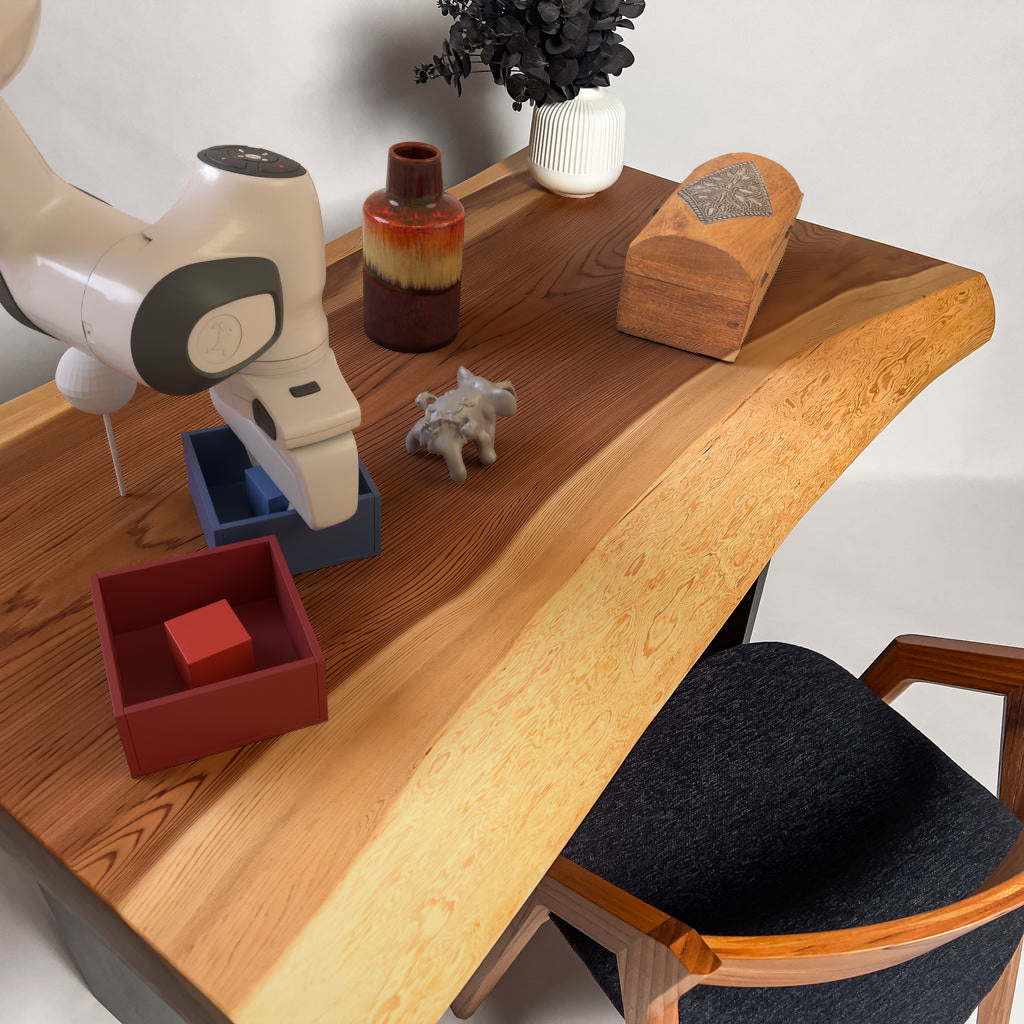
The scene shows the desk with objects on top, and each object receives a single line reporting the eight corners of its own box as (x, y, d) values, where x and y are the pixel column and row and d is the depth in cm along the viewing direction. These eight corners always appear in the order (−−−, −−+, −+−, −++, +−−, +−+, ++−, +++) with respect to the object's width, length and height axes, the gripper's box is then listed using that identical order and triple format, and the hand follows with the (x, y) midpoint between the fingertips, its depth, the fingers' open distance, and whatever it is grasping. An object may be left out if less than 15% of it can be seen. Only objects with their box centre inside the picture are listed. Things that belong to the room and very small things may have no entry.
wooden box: (671, 237, 136) (691, 137, 127) (786, 267, 131) (816, 166, 122) (599, 328, 114) (618, 216, 105) (734, 367, 110) (766, 254, 101)
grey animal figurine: (391, 466, 90) (392, 397, 85) (449, 404, 99) (453, 339, 94) (480, 498, 88) (486, 429, 83) (531, 432, 97) (540, 367, 92)
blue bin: (222, 591, 76) (213, 530, 72) (190, 491, 85) (180, 432, 81) (381, 554, 81) (381, 495, 77) (335, 463, 90) (333, 405, 86)
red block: (196, 706, 67) (188, 664, 64) (172, 664, 70) (163, 621, 67) (257, 680, 69) (251, 638, 66) (231, 640, 72) (225, 598, 69)
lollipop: (131, 464, 87) (100, 317, 78) (174, 492, 85) (148, 343, 75) (71, 496, 83) (30, 345, 73) (115, 526, 81) (79, 374, 71)
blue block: (271, 541, 80) (267, 499, 78) (248, 510, 83) (244, 469, 80) (320, 523, 83) (318, 483, 80) (296, 494, 85) (294, 454, 82)
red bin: (132, 779, 63) (114, 717, 59) (105, 637, 72) (88, 574, 68) (328, 720, 68) (325, 659, 64) (280, 594, 77) (275, 533, 72)
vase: (464, 311, 114) (475, 138, 101) (451, 358, 106) (461, 177, 93) (374, 300, 114) (373, 126, 101) (354, 346, 106) (350, 163, 93)
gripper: (178, 312, 77) (199, 449, 86) (291, 446, 65) (302, 589, 74) (252, 295, 80) (265, 429, 89) (373, 420, 69) (374, 560, 77)
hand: (282, 503), depth 82 cm, fingers closed on blue block, 4 cm apart
